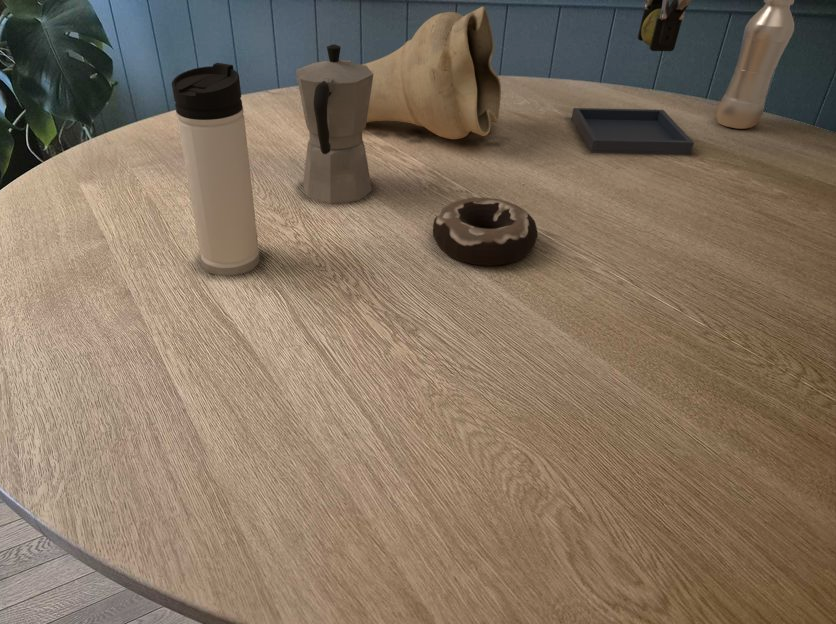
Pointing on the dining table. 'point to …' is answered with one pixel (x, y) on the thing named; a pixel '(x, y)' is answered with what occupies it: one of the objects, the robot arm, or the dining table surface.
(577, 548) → the dining table surface
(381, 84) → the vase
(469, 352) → the dining table surface
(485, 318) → the dining table surface
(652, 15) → the lime
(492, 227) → the donut
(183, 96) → the travel mug
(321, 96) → the coffeepot
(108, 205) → the dining table surface
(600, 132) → the square tray
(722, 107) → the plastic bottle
